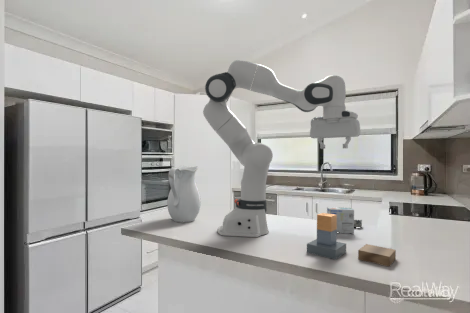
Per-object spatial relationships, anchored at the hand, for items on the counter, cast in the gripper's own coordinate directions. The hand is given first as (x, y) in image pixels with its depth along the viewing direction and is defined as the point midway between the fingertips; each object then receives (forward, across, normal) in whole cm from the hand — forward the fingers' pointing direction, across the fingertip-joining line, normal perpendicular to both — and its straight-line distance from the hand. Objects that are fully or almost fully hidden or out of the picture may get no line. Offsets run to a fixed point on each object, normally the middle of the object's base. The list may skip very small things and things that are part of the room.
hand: (333, 148), depth 115 cm
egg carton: (+38, -2, +27) cm, 47 cm away
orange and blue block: (+34, +6, -20) cm, 40 cm away
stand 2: (+37, +20, -15) cm, 45 cm away
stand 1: (+37, +6, -20) cm, 42 cm away
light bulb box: (+37, -2, +13) cm, 40 cm away
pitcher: (+37, -68, -25) cm, 81 cm away
